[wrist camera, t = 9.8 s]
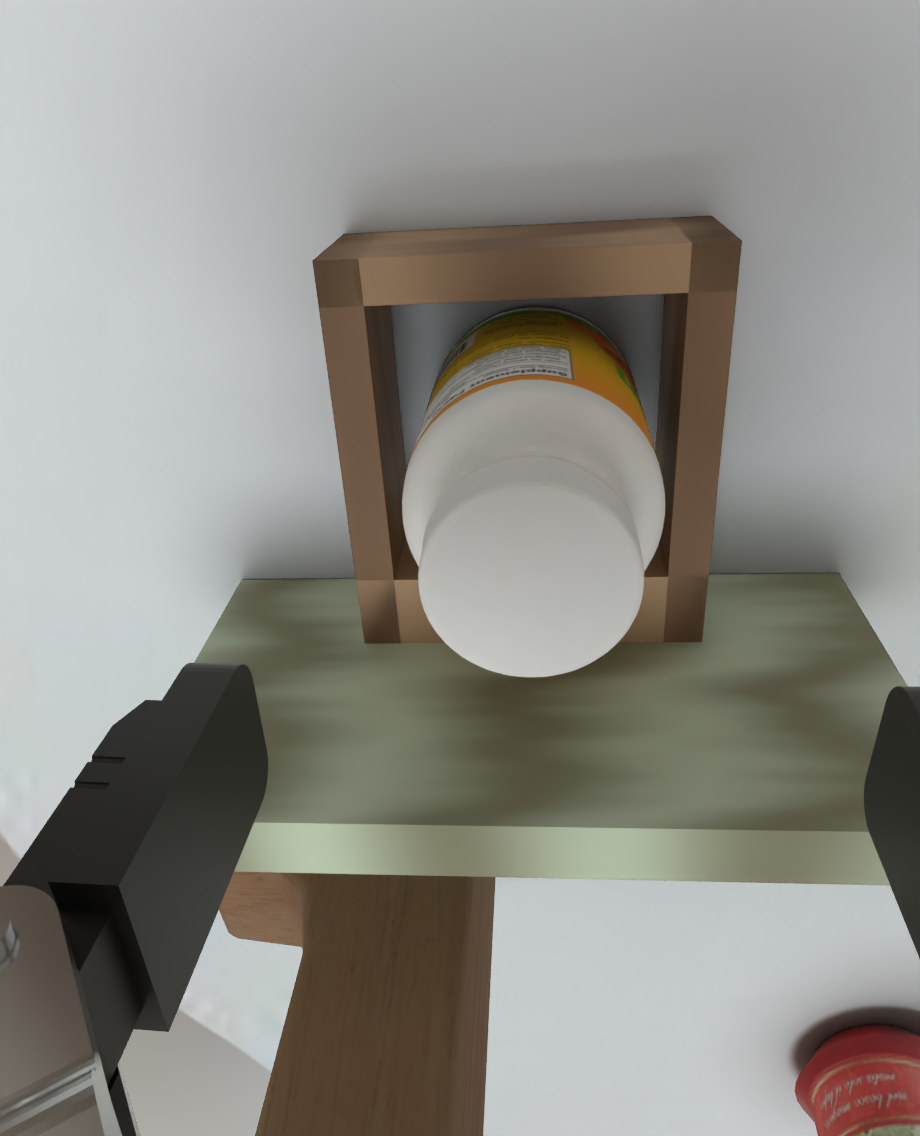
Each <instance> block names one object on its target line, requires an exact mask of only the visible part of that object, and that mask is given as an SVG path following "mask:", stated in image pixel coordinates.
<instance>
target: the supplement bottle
mask: <svg viewBox="0 0 920 1136" xmlns="http://www.w3.org/2000/svg"><path fill="white" fill-rule="evenodd" d="M402 517H403V526H404V531H405V535H406V539H407V542H408V545H409V548H410V551H411V553H412V555H413V557H414V559H415V561H416V563H417V565H418V567H419V571H418V586H419V594H420V599H421V602H422V606H423V609H424V611H425V613H426V616H427V618H428V620H429V622H430V624H431V625H432V627H433V629H434V630H435V631H436V633H437V634H438V635H439V636H440V637H441V639H442V640H443V641H444V642H445V643H446V644H447V645H448V646H449V647H450V648H451V649H452V650H454V651H455V652H456V653H458V654H459V655H460V656H462V657H463V658H465V659H466V660H468V661H470V662H471V663H473V664H476V665H478V666H480V667H482V668H485V669H487V670H489V671H493V672H497V673H501V674H505V675H509V676H517V677H548V676H554V675H559V674H563V673H567V672H571V671H574V670H577V669H579V668H581V667H584V666H586V665H588V664H590V663H592V662H593V661H595V660H597V659H598V658H600V657H601V656H603V655H604V654H606V653H607V652H608V651H609V650H610V649H612V648H613V647H614V646H615V645H616V644H617V643H618V642H619V641H620V640H621V639H622V637H623V636H624V635H625V634H626V632H627V631H628V630H629V628H630V626H631V624H632V623H633V621H634V619H635V617H636V615H637V613H638V611H639V608H640V604H641V601H642V596H643V591H644V571H645V570H646V568H647V567H648V565H649V563H650V561H651V560H652V558H653V556H654V554H655V552H656V549H657V547H658V544H659V541H660V538H661V534H662V530H663V524H664V517H665V490H664V485H663V478H662V474H661V470H660V466H659V462H658V459H657V456H656V453H655V450H654V446H653V443H652V439H651V436H650V433H649V429H648V426H647V422H646V419H645V416H644V412H643V409H642V406H641V403H640V400H639V397H638V394H637V390H636V387H635V384H634V380H633V377H632V374H631V372H630V369H629V367H628V365H627V363H626V361H625V359H624V357H623V356H622V354H621V352H620V351H619V349H618V348H617V347H616V345H615V344H614V343H613V341H612V340H611V339H610V338H609V337H608V336H607V335H606V334H605V333H604V332H603V331H601V330H600V329H599V328H598V327H597V326H595V325H594V324H592V323H590V322H589V321H587V320H586V319H583V318H581V317H579V316H577V315H575V314H572V313H569V312H566V311H562V310H558V309H552V308H542V307H530V308H519V309H514V310H509V311H506V312H503V313H500V314H497V315H495V316H493V317H490V318H489V319H487V320H485V321H483V322H482V323H480V324H479V325H477V326H476V327H474V328H473V329H472V330H471V331H469V332H468V333H467V334H466V335H465V336H464V337H463V338H462V339H461V340H460V341H459V342H458V343H457V344H456V345H455V346H454V348H453V349H452V350H451V352H450V353H449V355H448V357H447V358H446V360H445V362H444V364H443V366H442V368H441V370H440V372H439V374H438V377H437V379H436V382H435V385H434V388H433V391H432V394H431V397H430V400H429V403H428V407H427V410H426V413H425V416H424V419H423V422H422V425H421V429H420V432H419V435H418V438H417V441H416V444H415V447H414V450H413V452H412V455H411V458H410V461H409V464H408V468H407V471H406V476H405V481H404V488H403V496H402Z"/></svg>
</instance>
